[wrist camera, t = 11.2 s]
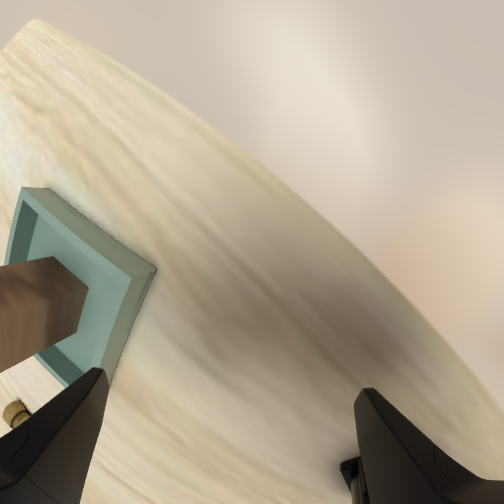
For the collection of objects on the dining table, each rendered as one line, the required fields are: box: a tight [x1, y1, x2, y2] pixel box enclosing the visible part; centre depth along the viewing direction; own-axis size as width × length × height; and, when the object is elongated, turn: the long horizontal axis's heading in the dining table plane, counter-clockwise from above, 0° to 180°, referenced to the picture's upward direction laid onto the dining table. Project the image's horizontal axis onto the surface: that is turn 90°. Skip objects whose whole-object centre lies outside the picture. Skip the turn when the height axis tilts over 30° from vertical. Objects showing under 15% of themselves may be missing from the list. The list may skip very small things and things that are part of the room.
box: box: [4, 187, 157, 388], centre depth 21 cm, size 14×14×4 cm
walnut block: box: [0, 256, 89, 373], centre depth 17 cm, size 5×5×10 cm
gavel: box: [3, 401, 30, 429], centre depth 28 cm, size 21×5×10 cm
